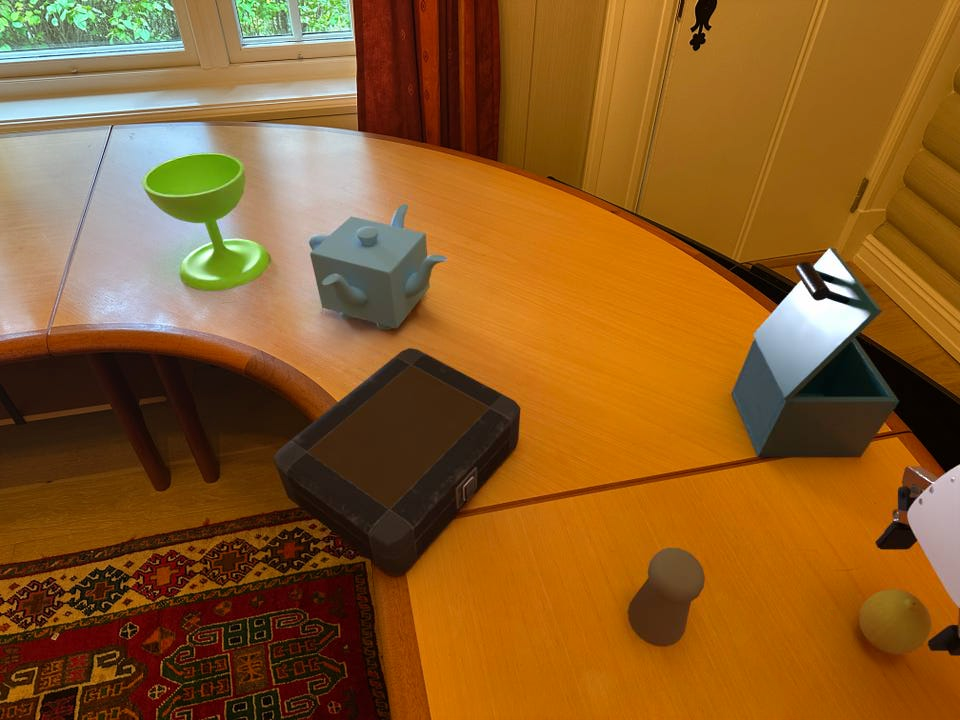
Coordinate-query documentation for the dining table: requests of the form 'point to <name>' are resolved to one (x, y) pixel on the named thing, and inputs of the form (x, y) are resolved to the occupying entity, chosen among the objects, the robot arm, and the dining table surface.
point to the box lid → (814, 322)
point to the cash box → (399, 457)
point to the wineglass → (207, 216)
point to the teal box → (814, 407)
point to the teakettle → (372, 269)
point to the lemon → (895, 621)
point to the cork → (666, 597)
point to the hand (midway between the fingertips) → (916, 593)
